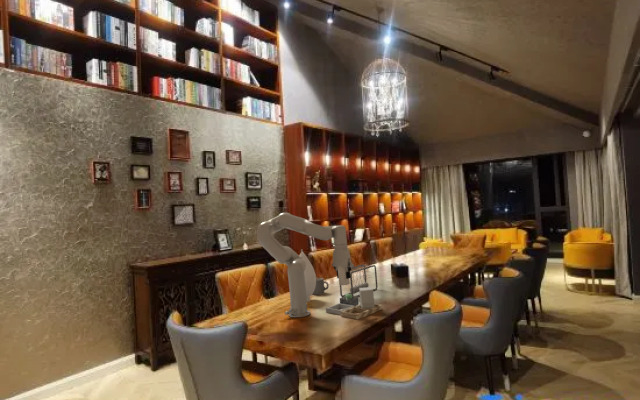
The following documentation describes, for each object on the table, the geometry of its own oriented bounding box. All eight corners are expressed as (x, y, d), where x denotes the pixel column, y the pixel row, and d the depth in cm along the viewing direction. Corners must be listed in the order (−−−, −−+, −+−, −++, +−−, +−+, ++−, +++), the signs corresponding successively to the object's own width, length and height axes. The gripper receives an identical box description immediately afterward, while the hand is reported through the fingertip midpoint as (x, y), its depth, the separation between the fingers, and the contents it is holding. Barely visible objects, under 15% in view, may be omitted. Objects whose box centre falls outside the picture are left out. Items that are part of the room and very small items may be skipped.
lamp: (289, 303, 264) (286, 249, 264) (298, 297, 279) (295, 246, 279) (312, 303, 259) (308, 249, 259) (320, 297, 274) (316, 246, 274)
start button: (349, 305, 244) (349, 295, 244) (344, 304, 247) (344, 295, 247) (353, 304, 247) (353, 294, 247) (348, 303, 250) (348, 293, 250)
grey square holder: (350, 308, 242) (349, 299, 242) (340, 306, 247) (339, 298, 247) (358, 305, 247) (358, 296, 247) (348, 303, 253) (347, 295, 253)
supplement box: (372, 308, 238) (371, 286, 238) (375, 311, 231) (373, 289, 231) (360, 309, 238) (358, 287, 238) (362, 312, 230) (360, 290, 230)
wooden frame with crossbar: (357, 319, 218) (357, 314, 218) (340, 316, 226) (340, 311, 226) (382, 309, 234) (381, 304, 234) (365, 306, 243) (365, 302, 243)
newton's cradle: (365, 288, 293) (364, 263, 293) (378, 289, 286) (376, 264, 286) (340, 297, 270) (338, 271, 270) (352, 299, 263) (350, 272, 264)
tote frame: (341, 315, 228) (341, 310, 228) (326, 312, 236) (325, 308, 236) (355, 310, 237) (354, 305, 237) (339, 307, 245) (339, 303, 245)
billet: (345, 285, 229) (343, 262, 229) (337, 284, 233) (334, 262, 233) (351, 283, 234) (349, 260, 234) (343, 282, 237) (341, 260, 238)
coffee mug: (308, 294, 286) (307, 280, 286) (313, 291, 295) (312, 277, 295) (325, 295, 280) (324, 280, 280) (330, 291, 290) (329, 277, 290)
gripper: (325, 247, 236) (328, 278, 236) (348, 247, 225) (352, 280, 225) (333, 246, 242) (336, 276, 242) (356, 246, 231) (359, 277, 230)
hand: (343, 277), depth 233 cm, fingers closed on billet, 6 cm apart
